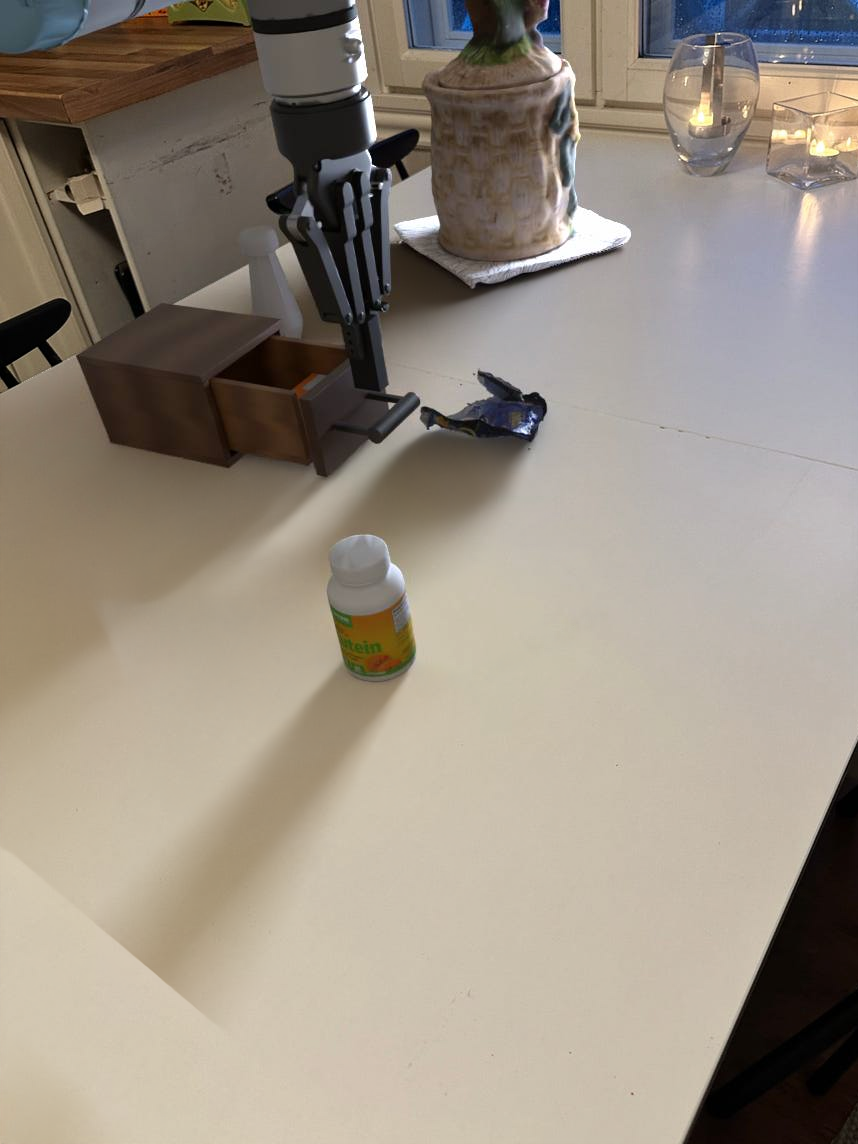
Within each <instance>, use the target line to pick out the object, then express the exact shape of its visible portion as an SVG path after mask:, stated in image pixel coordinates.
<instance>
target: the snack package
mask: <svg viewBox="0 0 858 1144" xmlns="http://www.w3.org/2000/svg"><path fill="white" fill-rule="evenodd" d="M472 375H473V376H476V380H478V382H479V384H480V385H482V386H483V388H485V390H486V392H488V393H489V394H491V395H493V396H489V397H487V398H485V399H484V398H483V399H480V400H475V401H473V402H472V403H470V402H466V406H464V407H463V408H462V409H461V410H459V411H458V412H456V413H453V414H449V415H444V414H443V413H441V412H440V411H437V410H436V409H435V408H432V407H429V406H425V405H423V406H420V409H419V410H420V411H419V413H420V416H419V421H420V422H421V423H422V424H423V426H424V427H425V428H426V430H427V431H429V430H431V427H434V425H437V426H438V427H440V429H446V430H449V431H450V432H453V431H454V432H457V433H461V434H464V435H468V436H471V437H474V438H478V439H491V438H492V439H494V438H495V439H496V438H500V437H510V436H511V437H514V438H517V439H519V440H523V441H526V442H527V443H532V442H533V441H534V439H535V437H536V435H537V432H538V430H539V425H540V424H541V422H544V419H545V417H546V415H547V412H548V403H547V401H546V399H545V398H544V397H542V396H541V395H540V393H539V392H537V391H534V392H531V393H528V394H527V393H526V394H524V393H523V391H522V390H521V389H520V388H519V387H516V386H514V385H512V384H511V383H510V382H509V381H506V380H504V379H503V378H501V377H500V376H499V377H498V376H495V375H493V373H491V372H489V371H483V370H480V369H478V370H477V373H474V372H473V373H472ZM462 385H463V384H462V383H460V384H459V386H462ZM527 450H528V451H529V450H531V447H528V449H527Z"/></svg>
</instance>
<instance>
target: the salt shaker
mask: <svg viewBox="0 0 858 1144" xmlns="http://www.w3.org/2000/svg"><path fill="white" fill-rule="evenodd" d="M237 242H238V247H239V249H240V252H241V254H242V256H246V257H247V262H248V263H247V264H248V275H249V284H250V285H249V287H250V298H251V300H250V301H251V311H252V312H251V315H255V316H263V317H270V318H277V319H282V322H283V327H284V331H285V335H286V337H291V338H298V339H302V332H303V327H304V317H303V315H302V313H301V309H300V308H299V306H298V303H297V301H296V298H295V295H294V293H293V291H292V289H291V286H290V284H289V281H288V279H287V276H286V274H285V272H284V269H283V267H282V263H281V262H280V260H279V258H278V254H277V252H276V251H277V250H278V248H279V245H280V244H279V238H278V235H277V233H276V231H275V229H274V228H273V227H271V226H268V225H253V226H250V227H246V228H244V229H242V230H241V231H240V232H239V234H238V236H237Z"/></svg>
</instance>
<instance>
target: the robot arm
mask: <svg viewBox="0 0 858 1144" xmlns="http://www.w3.org/2000/svg"><path fill="white" fill-rule="evenodd" d="M191 1H193V0H0V53H2V54H6V55H17V54H18V55H19V54H23V53H27V52H30V51H31V52H32V51H49V50H54V49H56V48H58V47H61V46H64V45H65V44H67V43H68V42H70V41H71V40H75V39H77V38H79V37H82V36H85V35H87V34H90V33H93V32H96V31H99V30H102V29H105V28H107V27H109V26H112V25H115V24H118V23H121V22H124V21H128V20H132V19H135V18H137V17H141V16H143V15H146V14H149V13H152V12H153V13H154V12H156V11H159V10H161V9H164V8H168V7H170V6H174V5H177V4H181V3H185V2H191ZM245 1H246V6H247V9H248V10H247V11H248V15H249V18H250V22H251V28H252V33H253V39H254V43H255V48H256V53H257V54H256V55H257V59H258V64H259V68H260V69H259V70H260V74H261V79H262V83H263V89H264V90H265V91H266V93H268V94H269V95H271V96H272V97H273V99H272V101H271V103H270V104H269V112H270V119H271V122H272V126H273V131H274V136H275V140H276V141H275V142H276V146H277V150H278V152H279V153H280V155H281V156H283V157H284V158H285V159H286V160H287V161H288V162H289V163H290V164H291V166H292V169H293V181H292V182H293V184H292V189H293V195H294V197H295V199H296V200H295V203H294V206H293V208H292V211H291V212H290V214H281V215H280V216H279V217H278V227H279V230H280V231H281V233H282V234H283V235H284V236H285V238H286V239H287V240H288V241H289V243H290V244H291V246H292V248H293V251H294V254H295V257H296V259H297V262H298V264H299V267H300V269H301V271H302V274H303V276H304V280H305V282H306V285H307V287H308V290H309V292H310V295H311V297H312V300H313V302H314V306H315V308H316V311H317V312H318V316H319V318H320V320H321V322H323V323H326V324H334V325H339V326H340V330H341V335H342V340H343V345H344V346H345V351H346V355H347V357H348V358H349V361H350V366H351V371H352V376H353V381H354V386H355V388H358V389H364V390H370V391H376V392H381V391H382V390H383V389H384V388H385V389H387V387H388V386H389V385H390V384H389V377H388V371H387V365H386V360H385V354H384V349H383V348H384V347H383V334H382V327H381V320H380V316H379V314H380V313H387V312H388V310H389V307H390V302H389V301H382V298H383V296H389V295H390V293H391V291H392V290H391V289H392V280H391V279H392V277H391V245H390V244H391V242H390V240H391V239H390V208H389V207H390V205H389V204H390V203H389V201H390V200H389V199H390V194H391V193H390V192H391V186H392V179H393V175H392V171H391V169H390V168H389V167H388V168H387V167H378V166H375V165H374V164H372V163H373V162H372V157H371V155H370V152H369V149H370V148H371V147H372V146H373V145H374V144H375V143H376V140H377V128H376V122H375V113H374V107H373V101H372V94H371V92H370V91H369V90H368V89H367V88H366V87H365V86H364V85H362V84H363V83H364V81H365V80H366V78H367V77H368V72H367V71H368V70H367V66H366V59H365V53H364V44H363V41H362V34H361V29H360V21H359V17H358V16H359V14H358V12H359V11H358V7H357V1H356V0H245Z"/></svg>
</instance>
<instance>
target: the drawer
mask: <svg viewBox="0 0 858 1144" xmlns="http://www.w3.org/2000/svg"><path fill="white" fill-rule="evenodd" d="M312 373H315V374H322V375H327V376H326V377H325V378H323V379H322V380H321V381H320V382H319V383H317V384H316V385H315V386H314V387H312V388H311V389H310V390H309V391H308V392H306V393H305V394H304V395H303V396H301V397H300V398H299V401H298V397H297V393H296V391H292V389H294V388H295V387H296V386H297V385H299V384H300V383H301V382H302V381H304V380H305V379H306V378H307V377H309V376H310V375H311V374H312ZM208 383H209V386H210V389H211V393H212V396H213V399H214V402H215V406H216V409H217V412H218V415H219V419H220V422H221V425H222V428H223V432H224V435H225V438H226V442H227V445H228V448H229V450H233V451H238V452H243V453H246V454H248V455H253V456H258V457H262V458H268V459H272V460H277V461H282V462H288V463H292V464H297V465H301V466H305V467H306V466H307V467H310V466H311V465H312V464H314V469H315V474H316V476H318V477H322V478H329V477H330V476H331V475H332V474H333V473H334V472H336V470H337V469H338V468H340V467H341V466H342V465H343V464H344V463H345V462H346V461H347V460H348V459H349V458H350V457H351V456H352V455H353V454H354V453H356V452H357V451H358V450H359V449H360V448H361V447H362V446H363V445H364V444H365V443H366V442H368V440H369V441H370V442H371V443H373V444H374V445H375V444H376V445H379V444H381V443H382V442H383V441H385V440H386V439H387V438H388V437H389V435H391V434H392V433H393V432H394V431H395V430H396V429H397V428H398V427H400V425H401V424H402V423H403V422H405V420H407V418H409V416H411V414H413V413H414V412H415V411H416V410H417V409H418V408H419V407H421V406H420V405H421V398H420V396H419V395H418V394H417V393H416V392H414V391H408V392H407V393H406V394H404V395H397V394H392V393H391V394H390V393H387V388H384V389H383V390H382V391H381V392H376V391H370V390H364V389H358V388H355V386H354V381H353V376H352V371H351V366H350V361H349V358H348V357H347V355H346V351H345V346H344V344H339V343H333V342H325V341H319V340H318V341H317V340H312V339H304V338H301V339H298V338H291V337H284V336H277V335H271V336H270V337H268V338H267V339H265V340H264V341H263V342H261V343H260V344H259V345H257V346H256V347H254V348H253V349H252V350H250V351H249V352H247V353H246V354H245V355H243V356H242V357H240V358H239V359H238V360H236V361H235V362H234V363H232V364H231V365H229V366H228V367H227V368H225V369H224V370H222V371H221V372H220V373H218V374H217V375H215V376H214V377H213V378H211V379H210V380H209V381H208ZM299 403H300V405H299ZM389 403H390V404H393V406H391V408H389V407H390V405H389ZM300 407H301V409H300ZM301 411H302V414H301ZM302 416H303V418H302ZM303 420H304V422H303ZM304 424H305V426H304ZM305 428H306V430H305ZM306 432H307V434H306ZM307 436H308V438H307ZM308 440H309V442H308Z"/></svg>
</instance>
